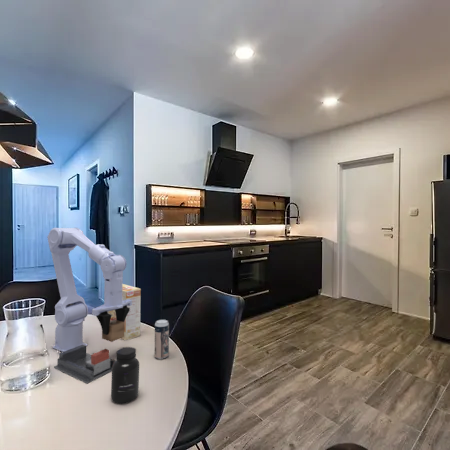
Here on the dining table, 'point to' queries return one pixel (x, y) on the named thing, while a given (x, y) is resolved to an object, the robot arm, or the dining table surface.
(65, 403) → the dining table surface
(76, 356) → the grey tray
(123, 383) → the supplement bottle
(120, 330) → the wooden block
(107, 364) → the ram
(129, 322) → the coffeecake box
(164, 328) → the beer can
